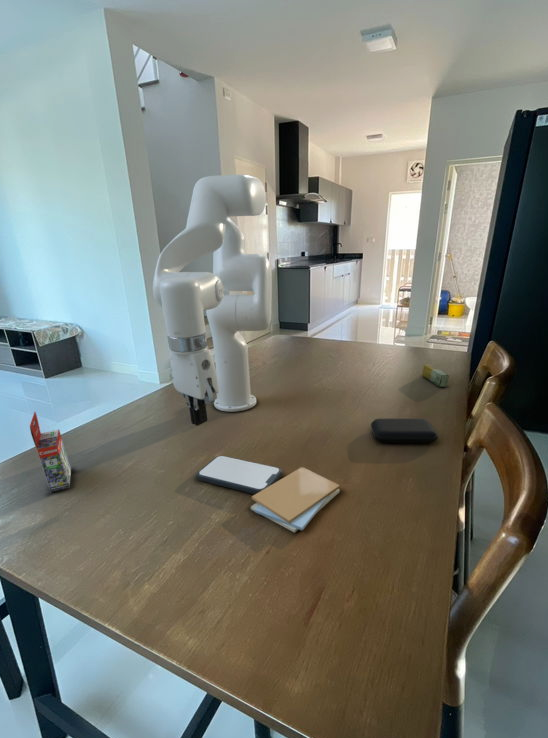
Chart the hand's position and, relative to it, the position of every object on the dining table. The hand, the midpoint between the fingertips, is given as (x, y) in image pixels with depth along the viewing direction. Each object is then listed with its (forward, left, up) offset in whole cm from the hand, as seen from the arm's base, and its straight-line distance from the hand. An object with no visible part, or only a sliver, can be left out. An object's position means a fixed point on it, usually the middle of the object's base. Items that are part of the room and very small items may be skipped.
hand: (199, 422), depth 85 cm
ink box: (-15, -25, -8) cm, 30 cm away
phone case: (+14, -2, -8) cm, 16 cm away
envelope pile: (+28, -1, -8) cm, 29 cm away
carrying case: (+33, +35, -8) cm, 49 cm away
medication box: (+25, +78, -8) cm, 82 cm away
